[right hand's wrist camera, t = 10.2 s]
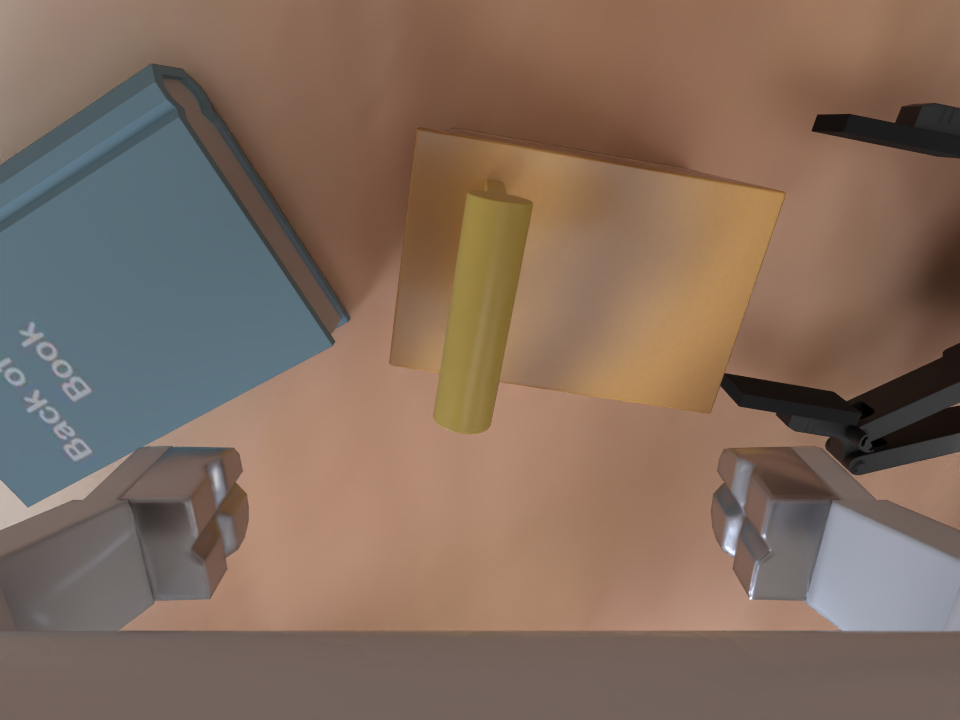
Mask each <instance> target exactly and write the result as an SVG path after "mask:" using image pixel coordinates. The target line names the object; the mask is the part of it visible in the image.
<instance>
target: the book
mask: <svg viewBox="0 0 960 720" xmlns="http://www.w3.org/2000/svg"><path fill="white" fill-rule="evenodd" d="M349 320H350V316H349V315H348V313H347V312H346V310H345V309H344V307H343V306H342V304H341V303H340V301H339V300H338V298H337V296H336V295H335V293H334V292H333V290H332V289H331V287H330V286H329V284H328V283H327V281H326V279H325V278H324V276H323V275H322V273H321V272H320V270H319V269H318V267H317V266H316V264H315V263H314V261H313V259H312V258H311V256H310V255H309V253H308V252H307V250H306V249H305V247H304V246H303V244H302V242H301V241H300V239H299V238H298V236H297V235H296V233H295V232H294V230H293V229H292V227H291V225H290V224H289V222H288V221H287V219H286V218H285V216H284V215H283V213H282V212H281V210H280V209H279V207H278V205H277V204H276V202H275V201H274V199H273V198H272V196H271V195H270V193H269V192H268V190H267V188H266V187H265V185H264V184H263V182H262V181H261V179H260V178H259V176H258V175H257V173H256V172H255V170H254V168H253V167H252V165H251V164H250V162H249V161H248V159H247V158H246V156H245V155H244V153H243V151H242V150H241V148H240V147H239V145H238V144H237V142H236V141H235V139H234V138H233V136H232V134H231V133H230V131H229V130H228V128H227V127H226V125H225V124H224V122H223V121H222V119H221V118H220V117H219V116H218V115H217V114H216V113H215V112H214V111H213V109H212V105H211V102H210V101H209V99H208V97H207V96H206V94H205V93H204V91H203V90H202V88H201V87H200V86H199V85H198V84H197V83H196V82H195V81H194V80H193V79H192V78H191V77H190V76H189V75H188V74H187V73H186V72H185V71H184V70H183V69H180V68H174V67H168V66H162V65H157V64H150V65H148V66H147V67H146V68H144V69H143V70H141V71H140V72H138V73H137V74H135V75H134V76H132V77H131V78H129V79H128V80H126V81H125V82H123V83H122V84H120V85H119V86H117V87H116V88H114V89H113V90H111V91H110V92H108V93H107V94H105V95H104V96H102V97H101V98H99V99H98V100H97V101H95V102H94V103H92V104H91V105H89V106H88V107H86V108H85V109H83V110H82V111H80V112H79V113H77V114H76V115H74V116H73V117H71V118H70V119H68V120H67V121H65V122H64V123H62V124H61V125H59V126H58V127H56V128H55V129H53V130H52V131H50V132H49V133H47V134H46V135H45V136H43V137H42V138H40V139H39V140H37V141H36V142H34V143H33V144H31V145H30V146H28V147H27V148H25V149H24V150H22V151H21V152H19V153H18V154H16V155H15V156H13V157H12V158H10V159H9V160H7V161H6V162H4V163H3V164H1V165H0V479H1V480H2V481H3V482H4V484H5V485H6V486H7V487H8V488H9V489H10V490H11V491H12V492H13V493H14V494H15V495H16V496H17V497H18V498H19V499H20V500H21V501H22V502H23V503H24V504H25V505H26V506H27V507H30V506H32V505H34V504H35V503H37V502H39V501H41V500H43V499H45V498H47V497H49V496H50V495H52V494H54V493H56V492H58V491H60V490H62V489H64V488H66V487H67V486H69V485H71V484H73V483H75V482H77V481H79V480H81V479H82V478H84V477H86V476H88V475H90V474H92V473H94V472H96V471H98V470H99V469H101V468H103V467H105V466H107V465H109V464H111V463H113V462H115V461H116V460H118V459H120V458H122V457H124V456H126V455H128V454H130V453H131V452H133V451H135V450H137V449H138V448H141V447H143V446H145V445H147V444H148V443H150V442H152V441H154V440H156V439H158V438H160V437H162V436H164V435H165V434H167V433H169V432H171V431H173V430H175V429H177V428H179V427H180V426H182V425H184V424H186V423H188V422H190V421H192V420H194V419H196V418H197V417H199V416H201V415H203V414H205V413H207V412H209V411H211V410H212V409H214V408H216V407H218V406H220V405H222V404H224V403H226V402H228V401H229V400H231V399H233V398H235V397H237V396H239V395H241V394H243V393H245V392H246V391H248V390H250V389H252V388H254V387H256V386H258V385H260V384H261V383H263V382H265V381H267V380H269V379H271V378H273V377H275V376H277V375H278V374H280V373H282V372H284V371H286V370H288V369H290V368H292V367H294V366H295V365H297V364H299V363H301V362H303V361H305V360H307V359H309V358H310V357H312V356H314V355H316V354H318V353H320V352H322V351H324V350H326V349H327V348H329V347H331V346H333V344H334V343H335V340H334V339H333V337H332V336H331V334H332V332H333V331H334V329H336V328H337V327H339V326H341V325H343V324H345V323H347V322H348V321H349Z"/></svg>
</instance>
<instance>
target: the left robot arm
mask: <svg viewBox="0 0 960 720" xmlns="http://www.w3.org/2000/svg"><path fill="white" fill-rule="evenodd" d="M812 131H813V132H818V133H823V134H828V135H833V136H838V137H843V138H848V139H853V140H858V141H863V142H868V143H873V144H878V145H883V146H888V147H893V148H898V149H903V150H908V151H913V152H918V153H923V154H928V155H933V156H938V157H950V158H960V108H955V107H951V106H946V105H942V104H937V103H927V104H911V105H907V106H902V107H901V110H900V112H899V115H898V117H897V120H896V122H895V123H892V122H887V121H882V120H877V119H872V118H867V117H862V116H857V115H852V114H824V115H817V117H816V120H815V123H814V126H813V128H812ZM720 386H721V387H722V388H723V389H724V390H725V391H726V393H727V394H728V395H729V396H730V397H731V398H732V399H733V400H734V401H735V402H736V404H737V405H738V406H740V407H746V408H752V409H758V410H764V411H770V412H776V415H777V416H778V417H779V418H780V419H781V420H782V421H783V422H784V423H785V424H786V425H787V426H788V427H789V428H791V429H792V430H794V431H797V432H803V433H804V432H805V433H809V434H815V435H821V436H827V437H830V438H829V439H828V440H827V442H826V445H825V447H826V450H827V451H829V452H830V453H831V454H832V455H833V456H834V457H835V458H836V459H837V460H838V461H839V462H840V463H841V464H842V465H843V466H844V467H845V468H846V469H847V470H849V471H850V472H851V473H852V474H854V475H862V474H866V473H870V472H875V471H879V470H883V469H887V468H892V467H896V466H900V465H905V464H909V463H913V462H917V461H922V460H926V459H930V458H934V457H939V456H943V455H947V454H952V453H956V452H960V406H955V407H950V406H953V405H955V404H957V403H959V402H960V343H959V344H956V345H954V346H952V347H950V348H948V349H946V350H944V352H943V356H942V357H941V358H940V359H937V360H935V361H933V362H931V363H929V364H927V365H924V366H922V367H920V368H918V369H916V370H914V371H911V372H909V373H907V374H905V375H903V376H901V377H898V378H896V379H894V380H892V381H890V382H888V383H885V384H883V385H881V386H879V387H877V388H875V389H872V390H870V391H868V392H866V393H864V394H862V395H859V396H857V397H855V398H853V399H851V400H849V401H845V400H844V399H843V398H841V397H840V396H839V395H837V394H836V393H835V392H832V391H826V390H820V389H814V388H808V387H802V386H797V385H791V384H785V383H779V382H773V381H767V380H761V379H756V378H750V377H744V376H738V375H732V374H726V373H724V375H723V378H722V381H721V384H720ZM948 407H949V408H948Z"/></svg>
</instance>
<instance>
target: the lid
mask: <svg viewBox="0 0 960 720" xmlns="http://www.w3.org/2000/svg"><path fill="white" fill-rule="evenodd" d="M785 195H786V193H785V192H782V191H778V190H774V189H769V188H763V187H757V186H752V185H746V184H740V183H734V182H729V181H723V180H717V179H712V178H706V177H700V176H695V175H689V174H683V173H677V172H672V171H666V170H660V169H655V168H649V167H643V166H638V165H632V164H626V163H621V162H615V161H609V160H603V159H598V158H592V157H586V156H581V155H575V154H569V153H564V152H558V151H552V150H546V149H541V148H535V147H529V146H524V145H518V144H512V143H507V142H501V141H495V140H490V139H484V138H478V137H472V136H467V135H461V134H455V133H450V132H444V131H438V130H433V129H427V128H417V130H416V137H415V146H414V155H413V163H412V172H411V180H410V189H409V197H408V206H407V215H406V223H405V232H404V240H403V249H402V257H401V266H400V274H399V283H398V292H397V300H396V309H395V317H394V326H393V334H392V343H391V352H390V360H389V364H390V365H391V366H397V367H404V368H410V369H417V370H424V371H430V372H437V373H440V374H439V380H438V387H437V394H436V400H435V407H434V413H433V417H434V420H435V421H436V423H437V424H438V425H440V426H441V427H443V428H445V429H447V430H449V431H453V432H456V433H462V434H477V433H481V432H484V431H486V430H487V429H488V428H489V427H490V425H491V421H492V416H493V411H494V406H495V400H496V395H497V390H498V385H499V382H503V383H509V384H516V385H522V386H529V387H536V388H542V389H549V390H555V391H562V392H569V393H575V394H582V395H588V396H595V397H602V398H608V399H615V400H621V401H628V402H635V403H641V404H648V405H654V406H661V407H667V408H674V409H681V410H687V411H694V412H700V413H707V414H710V413H711V410H712V407H713V405H714V402H715V399H716V396H717V393H718V390H719V387H720V384H721V381H722V378H723V375H724V373H725V370H726V367H727V364H728V361H729V358H730V355H731V352H732V349H733V346H734V343H735V341H736V338H737V335H738V332H739V329H740V326H741V323H742V320H743V317H744V314H745V311H746V309H747V306H748V303H749V300H750V297H751V294H752V291H753V288H754V285H755V282H756V280H757V277H758V274H759V271H760V268H761V265H762V262H763V259H764V256H765V253H766V250H767V248H768V245H769V242H770V239H771V236H772V233H773V230H774V227H775V224H776V221H777V218H778V216H779V213H780V210H781V207H782V204H783V201H784V198H785Z"/></svg>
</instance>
